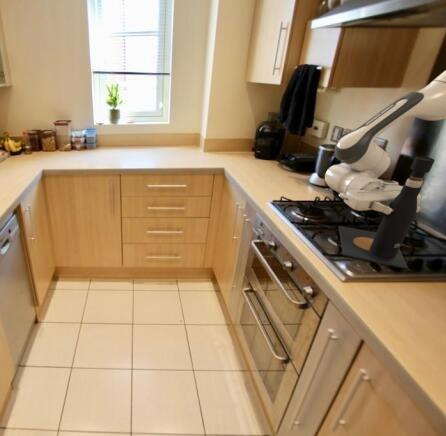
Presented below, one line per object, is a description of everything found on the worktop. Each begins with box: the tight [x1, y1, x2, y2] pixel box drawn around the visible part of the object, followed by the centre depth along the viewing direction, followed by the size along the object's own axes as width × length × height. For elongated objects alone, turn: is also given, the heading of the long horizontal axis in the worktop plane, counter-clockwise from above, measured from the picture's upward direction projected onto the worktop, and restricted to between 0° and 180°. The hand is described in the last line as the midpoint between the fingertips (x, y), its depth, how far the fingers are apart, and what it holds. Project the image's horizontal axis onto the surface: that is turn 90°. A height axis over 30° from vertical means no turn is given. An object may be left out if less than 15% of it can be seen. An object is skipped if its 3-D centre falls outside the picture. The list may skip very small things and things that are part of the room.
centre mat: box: [338, 225, 409, 270], centre depth 103 cm, size 16×20×1 cm
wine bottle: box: [369, 156, 436, 259], centre depth 89 cm, size 6×6×30 cm
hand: (404, 211), depth 88 cm, fingers closed on wine bottle, 6 cm apart
